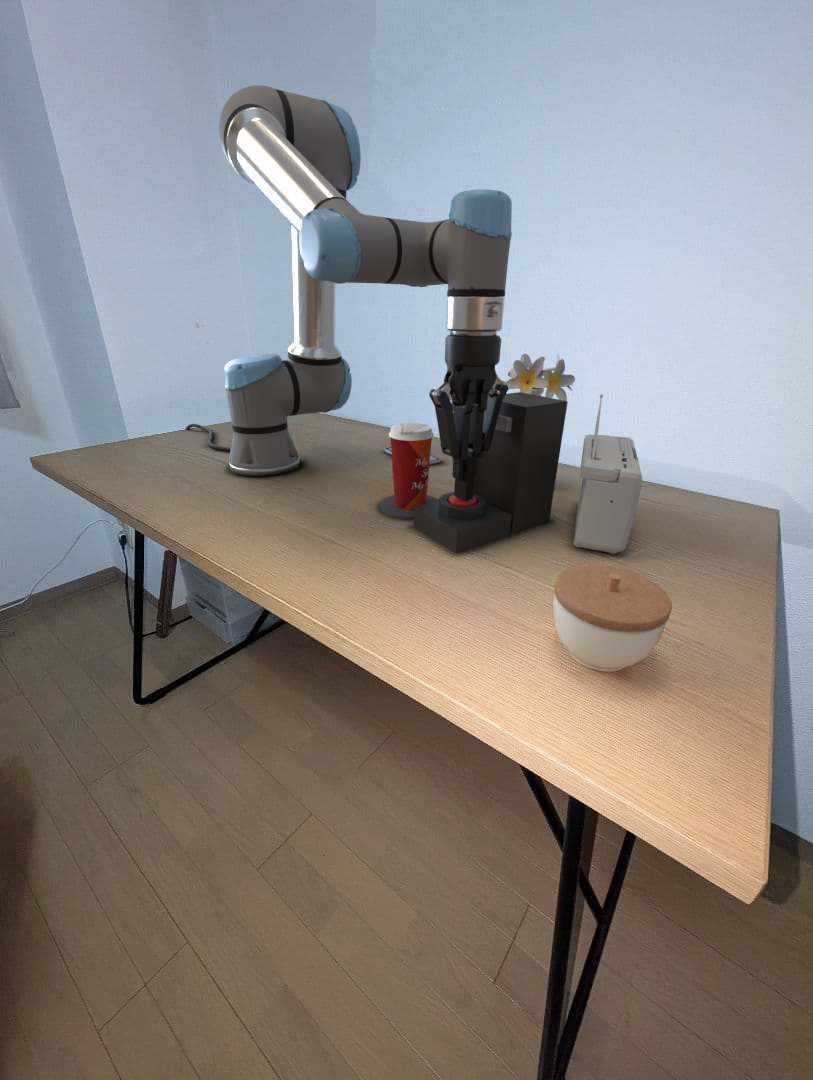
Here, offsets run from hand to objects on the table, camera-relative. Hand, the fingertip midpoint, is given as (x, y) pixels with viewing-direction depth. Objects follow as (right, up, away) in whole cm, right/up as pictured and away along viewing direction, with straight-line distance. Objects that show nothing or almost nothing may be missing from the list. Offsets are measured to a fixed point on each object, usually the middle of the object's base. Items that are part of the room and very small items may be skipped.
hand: (463, 497), depth 74 cm
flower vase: (+15, +5, +24) cm, 28 cm away
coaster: (-8, -1, +12) cm, 14 cm away
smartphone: (-8, +13, +40) cm, 43 cm away
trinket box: (+11, -19, -24) cm, 32 cm away
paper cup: (-8, 0, +12) cm, 14 cm away
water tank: (+9, -3, +8) cm, 13 cm away
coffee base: (0, -5, +3) cm, 6 cm away
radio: (+23, -5, +5) cm, 24 cm away
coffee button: (0, -2, +1) cm, 2 cm away
